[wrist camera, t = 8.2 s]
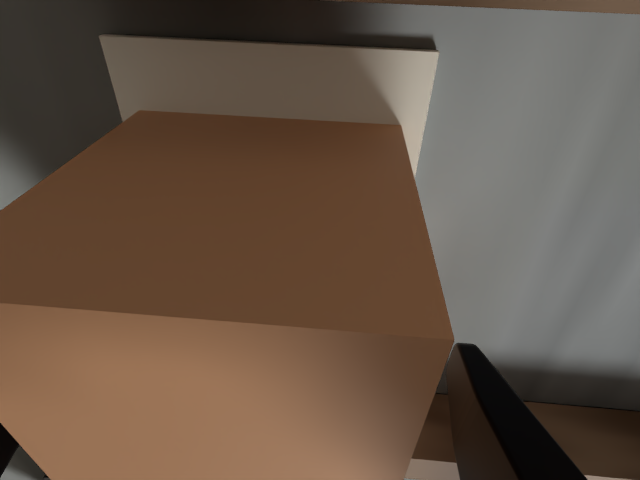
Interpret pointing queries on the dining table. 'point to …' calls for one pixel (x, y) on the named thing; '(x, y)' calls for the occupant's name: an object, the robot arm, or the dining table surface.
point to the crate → (222, 304)
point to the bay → (360, 107)
